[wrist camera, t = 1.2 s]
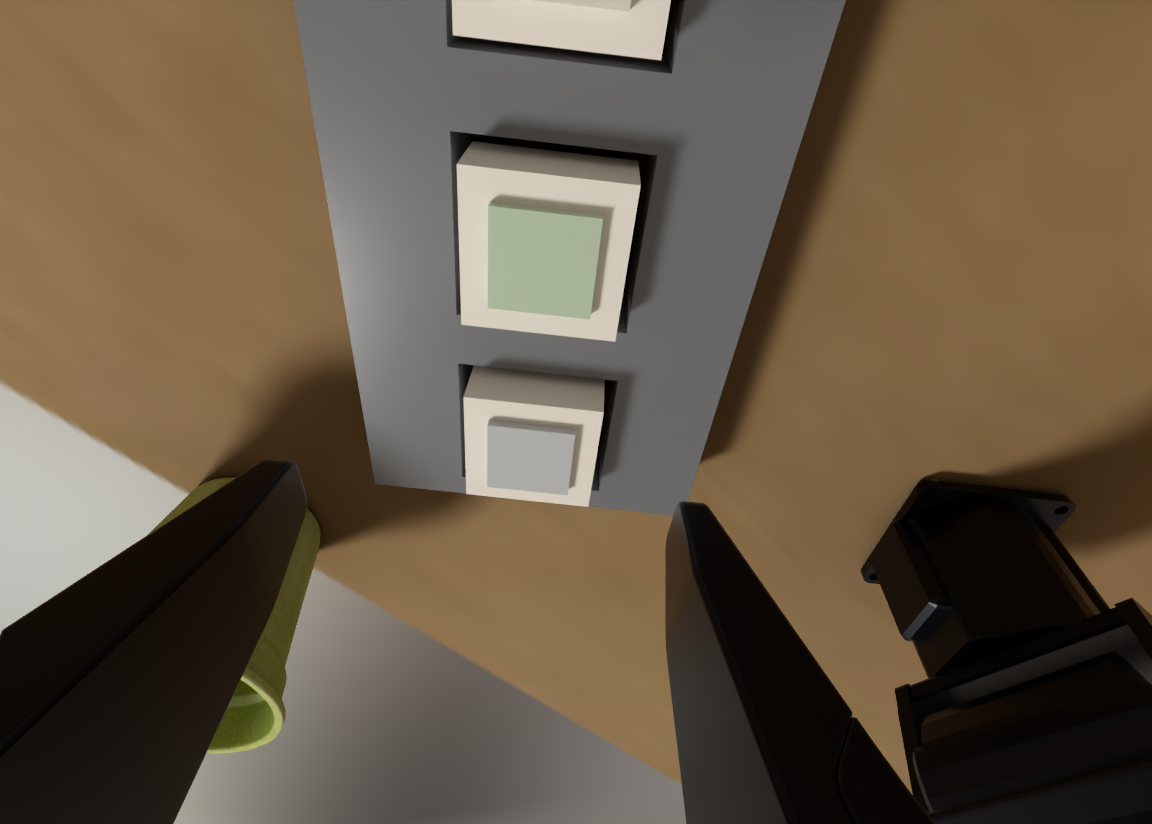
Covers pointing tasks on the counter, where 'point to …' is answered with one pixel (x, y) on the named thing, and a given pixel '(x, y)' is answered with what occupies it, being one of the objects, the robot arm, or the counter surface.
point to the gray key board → (572, 117)
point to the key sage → (544, 239)
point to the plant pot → (263, 645)
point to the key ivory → (568, 24)
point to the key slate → (532, 435)
